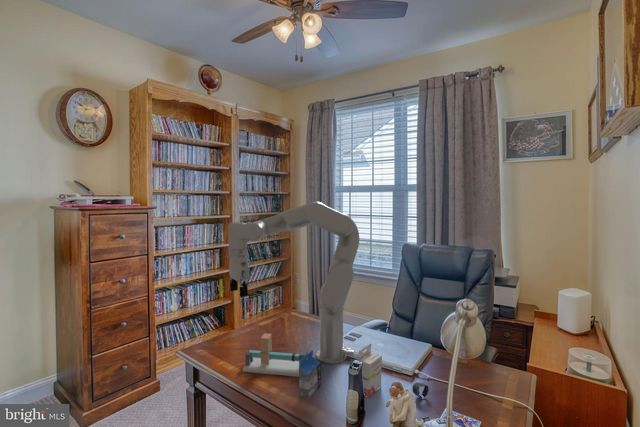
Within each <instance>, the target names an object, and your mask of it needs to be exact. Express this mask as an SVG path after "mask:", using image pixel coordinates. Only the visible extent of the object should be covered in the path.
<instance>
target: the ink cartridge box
mask: <svg viewBox="0 0 640 427" xmlns="http://www.w3.org/2000/svg"><path fill="white" fill-rule="evenodd" d="M371 349H372V343H369V344H367V345H366V346H364V347H363V348H362V349H359V350H358V356H357V362H358V361H359V362H362V363H363V367H362V380H363V388H364V394H365V396H367V397H369V396H370V395H372V394H373V393H374V392H375V391H376V390H377V389H378V388H379V387H381V388H382V368H383V367H382V366H383V364H382V361H383V354H380V353H377V352H373V351H371ZM377 391H378V390H377ZM377 391H376V392H377ZM376 392H375V393H376ZM375 393H374V394H375ZM374 394H373V395H374ZM373 395H372V396H373ZM365 396H364V397H365ZM367 397H366V398H367ZM369 398H370V397H369Z"/></svg>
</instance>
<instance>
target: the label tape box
mask: <svg viewBox="0 0 640 427" xmlns="http://www.w3.org/2000/svg"><path fill="white" fill-rule="evenodd" d="M313 354H314V350H311V351H310V352H308V354H307V355H306V356H305V357H304V358H302V359H301V360H300V361H299V378H298V379H299V381H298V382H299V397H300V398H303V399H306V400H310V399H311V398H312V397H313V396H314V395H315V394H316V393H317V392H318V390H319V389H320V388H321V387H322V362H321V361H319V360H318V359H317V358H315V357H313ZM306 358H308V359H307V360H306V361H304V360H305V359H306Z"/></svg>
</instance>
